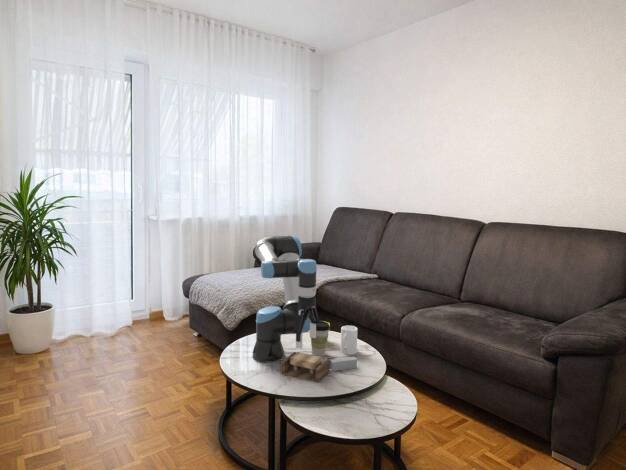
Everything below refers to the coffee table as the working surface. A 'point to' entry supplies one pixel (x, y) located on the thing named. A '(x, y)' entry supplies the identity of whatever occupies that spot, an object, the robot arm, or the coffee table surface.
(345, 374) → the coffee table surface
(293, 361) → the board
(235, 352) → the coffee table surface
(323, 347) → the coffee cup
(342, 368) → the wedge
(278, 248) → the robot arm
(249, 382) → the coffee table surface
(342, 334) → the mug
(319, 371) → the cradle
